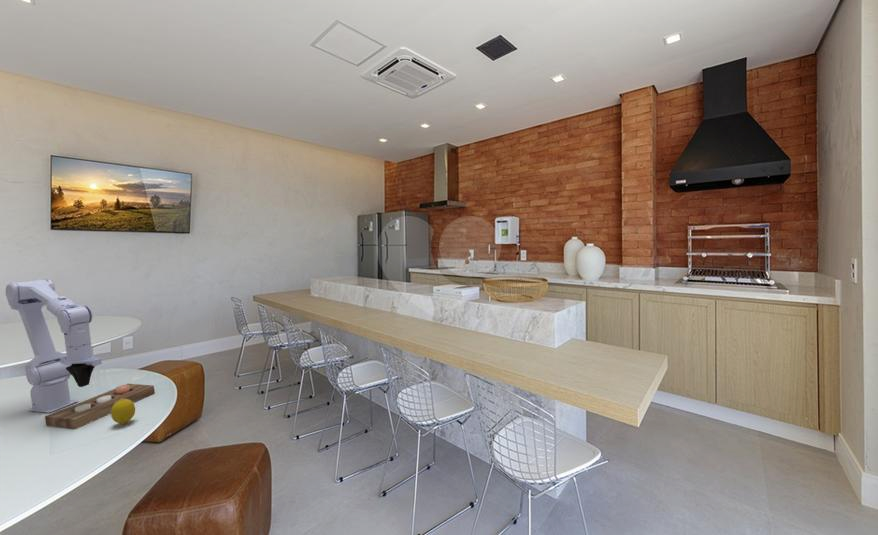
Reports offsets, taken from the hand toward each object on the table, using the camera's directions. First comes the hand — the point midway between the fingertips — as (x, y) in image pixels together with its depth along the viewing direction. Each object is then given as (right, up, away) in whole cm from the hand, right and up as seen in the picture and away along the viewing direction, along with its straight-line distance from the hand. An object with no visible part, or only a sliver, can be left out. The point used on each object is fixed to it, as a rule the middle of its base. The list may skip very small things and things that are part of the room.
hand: (83, 385), depth 114 cm
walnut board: (+2, -9, +5) cm, 11 cm away
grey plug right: (+1, -9, -1) cm, 9 cm away
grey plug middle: (+2, -9, +5) cm, 10 cm away
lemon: (+18, -10, -5) cm, 21 cm away
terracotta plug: (+3, -7, +11) cm, 13 cm away
